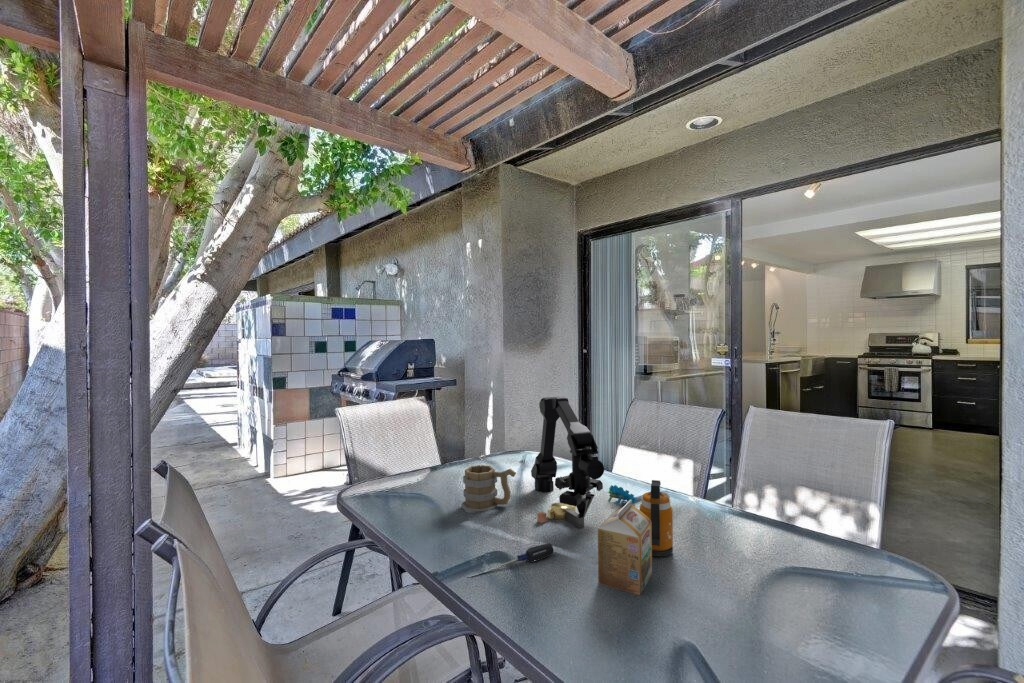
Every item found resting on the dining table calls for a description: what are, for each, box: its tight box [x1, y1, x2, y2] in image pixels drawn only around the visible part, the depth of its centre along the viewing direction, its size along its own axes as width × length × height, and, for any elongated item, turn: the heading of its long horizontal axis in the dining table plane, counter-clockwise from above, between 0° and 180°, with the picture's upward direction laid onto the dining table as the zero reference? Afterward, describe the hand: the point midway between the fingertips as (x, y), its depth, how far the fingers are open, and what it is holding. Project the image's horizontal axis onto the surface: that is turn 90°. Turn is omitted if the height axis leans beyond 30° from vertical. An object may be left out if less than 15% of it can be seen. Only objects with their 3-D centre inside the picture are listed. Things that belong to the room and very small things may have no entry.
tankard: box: [461, 464, 517, 514], centre depth 168 cm, size 20×13×15 cm, turn 68°
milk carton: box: [597, 500, 653, 596], centre depth 120 cm, size 11×11×19 cm
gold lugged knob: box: [547, 502, 585, 530], centre depth 155 cm, size 16×10×3 cm, turn 27°
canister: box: [639, 479, 674, 557], centre depth 133 cm, size 9×11×20 cm
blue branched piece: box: [607, 484, 637, 504], centre depth 169 cm, size 11×6×10 cm
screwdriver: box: [494, 543, 554, 567], centre depth 128 cm, size 26×4×4 cm, turn 116°
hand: (582, 517), depth 151 cm, fingers closed
